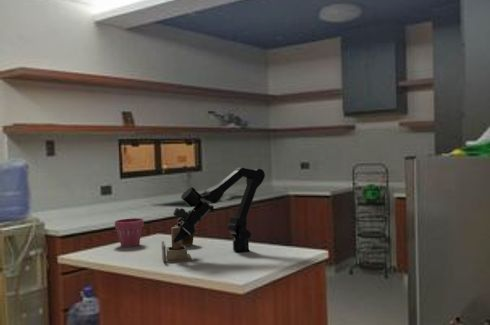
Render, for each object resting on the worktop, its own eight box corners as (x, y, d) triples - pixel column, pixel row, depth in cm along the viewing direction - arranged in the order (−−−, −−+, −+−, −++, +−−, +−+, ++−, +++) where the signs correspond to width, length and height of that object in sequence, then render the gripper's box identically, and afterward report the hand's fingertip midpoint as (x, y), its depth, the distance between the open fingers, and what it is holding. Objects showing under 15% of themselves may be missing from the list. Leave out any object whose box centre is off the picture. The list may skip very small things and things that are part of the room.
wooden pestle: (181, 256, 211) (180, 226, 210) (182, 258, 207) (180, 227, 206) (171, 256, 210) (170, 227, 209) (172, 258, 206) (171, 228, 205)
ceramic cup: (185, 242, 246) (184, 223, 246) (200, 244, 240) (199, 224, 240) (167, 247, 235) (166, 226, 235) (182, 249, 230) (181, 228, 229)
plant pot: (110, 245, 244) (109, 220, 244) (135, 241, 254) (134, 217, 253) (124, 249, 234) (123, 222, 233) (149, 244, 243) (148, 219, 243)
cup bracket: (189, 255, 215) (188, 239, 215) (192, 260, 204) (191, 244, 203) (162, 257, 213) (161, 241, 212) (163, 263, 201) (163, 246, 201)
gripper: (181, 199, 218) (158, 225, 215) (186, 203, 199) (160, 231, 197) (199, 215, 220) (176, 241, 217) (205, 220, 201) (180, 249, 199)
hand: (173, 240), depth 208 cm, fingers open, 8 cm apart
